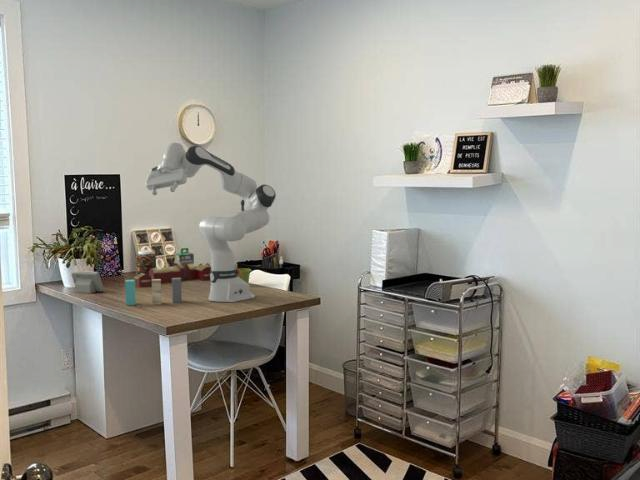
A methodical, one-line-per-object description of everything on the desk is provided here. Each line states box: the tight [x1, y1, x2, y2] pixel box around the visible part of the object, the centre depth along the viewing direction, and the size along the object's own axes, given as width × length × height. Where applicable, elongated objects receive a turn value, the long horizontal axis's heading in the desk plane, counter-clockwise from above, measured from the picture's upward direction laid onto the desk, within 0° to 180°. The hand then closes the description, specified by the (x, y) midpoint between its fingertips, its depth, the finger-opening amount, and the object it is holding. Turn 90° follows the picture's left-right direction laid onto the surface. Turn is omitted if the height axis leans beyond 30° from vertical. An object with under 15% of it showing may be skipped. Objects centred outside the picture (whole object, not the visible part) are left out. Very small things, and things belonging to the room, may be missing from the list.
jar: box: [135, 249, 157, 276], centre depth 358 cm, size 12×12×15 cm
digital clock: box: [71, 270, 104, 294], centre depth 313 cm, size 16×9×11 cm, turn 63°
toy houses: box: [134, 262, 211, 288], centre depth 343 cm, size 45×20×10 cm, turn 125°
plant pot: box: [235, 267, 252, 284], centre depth 328 cm, size 9×9×9 cm
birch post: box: [151, 279, 162, 306], centre depth 283 cm, size 4×4×11 cm
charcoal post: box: [171, 278, 183, 304], centre depth 287 cm, size 4×4×11 cm
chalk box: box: [174, 247, 195, 266], centre depth 374 cm, size 9×9×15 cm
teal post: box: [124, 279, 136, 306], centre depth 282 cm, size 4×4×11 cm
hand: (163, 192), depth 285 cm, fingers open, 8 cm apart
